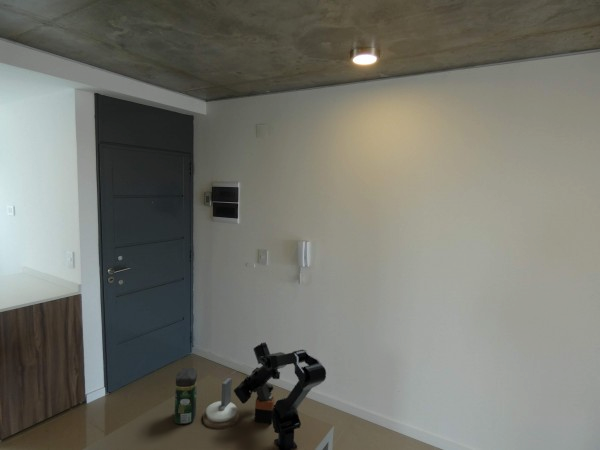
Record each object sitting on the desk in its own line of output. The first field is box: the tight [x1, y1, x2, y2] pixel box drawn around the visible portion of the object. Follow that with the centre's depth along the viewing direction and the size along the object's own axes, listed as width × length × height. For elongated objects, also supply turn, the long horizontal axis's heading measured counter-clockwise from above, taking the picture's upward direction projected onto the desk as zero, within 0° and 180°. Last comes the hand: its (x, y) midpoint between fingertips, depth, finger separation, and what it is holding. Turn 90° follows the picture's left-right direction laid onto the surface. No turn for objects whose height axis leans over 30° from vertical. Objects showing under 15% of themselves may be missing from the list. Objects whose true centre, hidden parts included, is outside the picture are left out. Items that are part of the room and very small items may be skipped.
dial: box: [205, 377, 237, 422], centre depth 139 cm, size 12×12×12 cm
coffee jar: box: [173, 367, 198, 425], centre depth 137 cm, size 10×8×19 cm
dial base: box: [202, 407, 240, 430], centre depth 139 cm, size 14×14×2 cm
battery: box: [254, 394, 275, 425], centre depth 139 cm, size 4×7×10 cm, turn 84°
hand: (236, 395), depth 142 cm, fingers closed
